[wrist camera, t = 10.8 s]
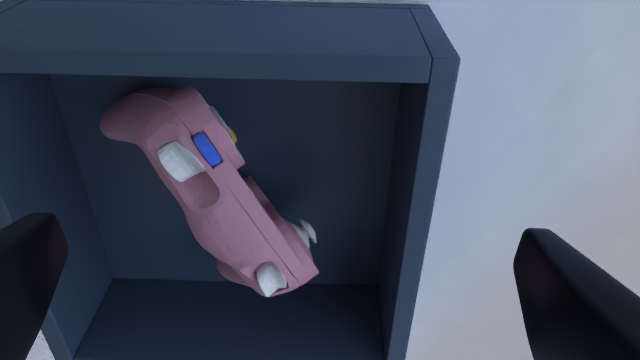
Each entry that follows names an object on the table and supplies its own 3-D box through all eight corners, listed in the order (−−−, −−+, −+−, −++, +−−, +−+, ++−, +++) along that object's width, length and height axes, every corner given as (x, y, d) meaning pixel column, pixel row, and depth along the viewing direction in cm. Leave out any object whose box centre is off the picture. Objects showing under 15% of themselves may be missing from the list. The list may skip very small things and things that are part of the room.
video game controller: (295, 215, 25) (356, 288, 19) (222, 268, 25) (260, 360, 19) (184, 47, 20) (218, 73, 14) (88, 107, 20) (82, 162, 14)
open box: (429, 4, 18) (461, 58, 14) (389, 287, 27) (401, 380, 22) (13, -6, 18) (-94, 45, 14) (106, 279, 27) (59, 369, 22)
